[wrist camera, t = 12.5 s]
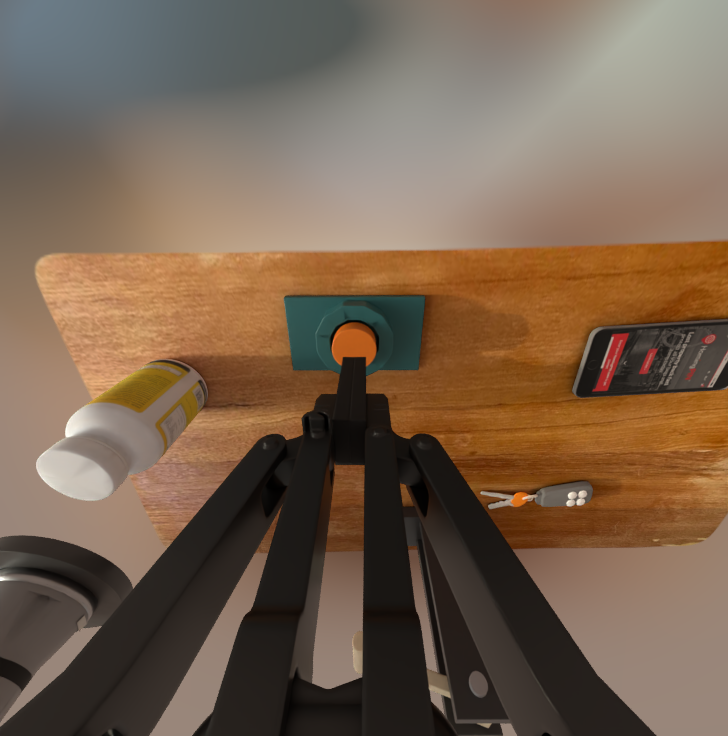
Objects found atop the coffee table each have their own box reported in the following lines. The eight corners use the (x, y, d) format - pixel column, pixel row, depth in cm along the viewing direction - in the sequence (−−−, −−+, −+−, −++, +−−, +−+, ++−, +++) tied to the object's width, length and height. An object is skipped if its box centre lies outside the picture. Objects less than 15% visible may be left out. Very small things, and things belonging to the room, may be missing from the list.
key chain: (587, 476, 35) (596, 486, 33) (583, 496, 36) (591, 507, 35) (479, 489, 36) (484, 499, 34) (479, 509, 37) (483, 519, 36)
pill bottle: (131, 362, 28) (-8, 447, 17) (192, 350, 27) (87, 430, 17) (165, 415, 31) (64, 515, 20) (221, 406, 30) (147, 503, 20)
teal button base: (294, 367, 28) (288, 379, 26) (285, 295, 25) (277, 302, 22) (417, 366, 28) (421, 379, 26) (424, 294, 25) (430, 302, 22)
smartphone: (596, 329, 25) (772, 318, 25) (590, 326, 26) (762, 315, 25) (573, 398, 29) (728, 390, 28) (569, 394, 29) (720, 386, 29)
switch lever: (357, 645, 29) (349, 677, 27) (356, 622, 27) (348, 655, 25) (483, 693, 26) (485, 733, 24) (494, 671, 24) (497, 714, 22)
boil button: (334, 360, 25) (332, 370, 24) (332, 321, 24) (330, 329, 22) (375, 360, 25) (376, 370, 24) (376, 321, 24) (376, 328, 22)
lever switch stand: (394, 535, 40) (414, 740, 24) (396, 506, 37) (421, 717, 21) (465, 535, 40) (532, 740, 24) (473, 506, 37) (554, 717, 21)
